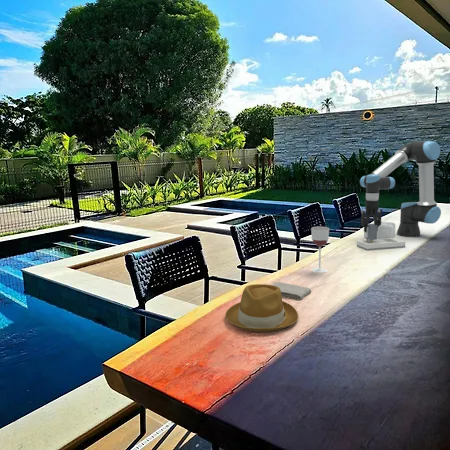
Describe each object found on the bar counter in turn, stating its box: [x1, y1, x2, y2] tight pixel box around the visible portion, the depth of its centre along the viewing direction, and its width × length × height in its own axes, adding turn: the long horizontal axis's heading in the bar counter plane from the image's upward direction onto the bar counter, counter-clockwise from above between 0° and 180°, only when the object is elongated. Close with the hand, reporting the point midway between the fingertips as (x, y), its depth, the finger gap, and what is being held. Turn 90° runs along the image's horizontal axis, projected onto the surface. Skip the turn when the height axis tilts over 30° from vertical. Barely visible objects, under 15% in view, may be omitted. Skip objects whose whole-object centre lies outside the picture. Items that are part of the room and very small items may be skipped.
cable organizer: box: [372, 221, 396, 239], centre depth 268 cm, size 15×11×12 cm
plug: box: [363, 223, 377, 242], centre depth 248 cm, size 5×6×10 cm
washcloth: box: [272, 281, 312, 301], centre depth 174 cm, size 12×18×3 cm, turn 55°
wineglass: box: [310, 226, 330, 274], centre depth 203 cm, size 9×10×22 cm
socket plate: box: [356, 237, 406, 251], centre depth 250 cm, size 26×12×4 cm, turn 101°
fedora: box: [225, 283, 299, 333], centre depth 148 cm, size 27×29×12 cm
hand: (370, 236), depth 249 cm, fingers closed on plug, 5 cm apart
